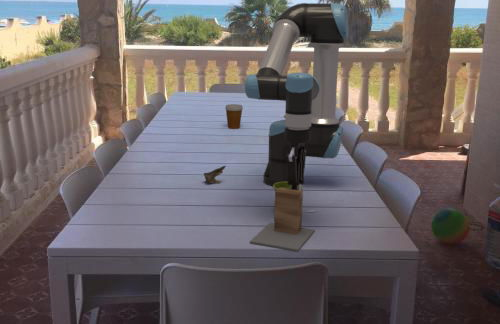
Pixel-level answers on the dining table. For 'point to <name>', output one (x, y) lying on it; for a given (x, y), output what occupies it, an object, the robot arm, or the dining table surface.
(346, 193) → the dining table surface
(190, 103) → the dining table surface
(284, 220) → the walnut block
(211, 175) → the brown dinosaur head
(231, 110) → the disposable coffee cup
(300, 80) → the robot arm
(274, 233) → the rubber mat
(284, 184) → the plant pot
